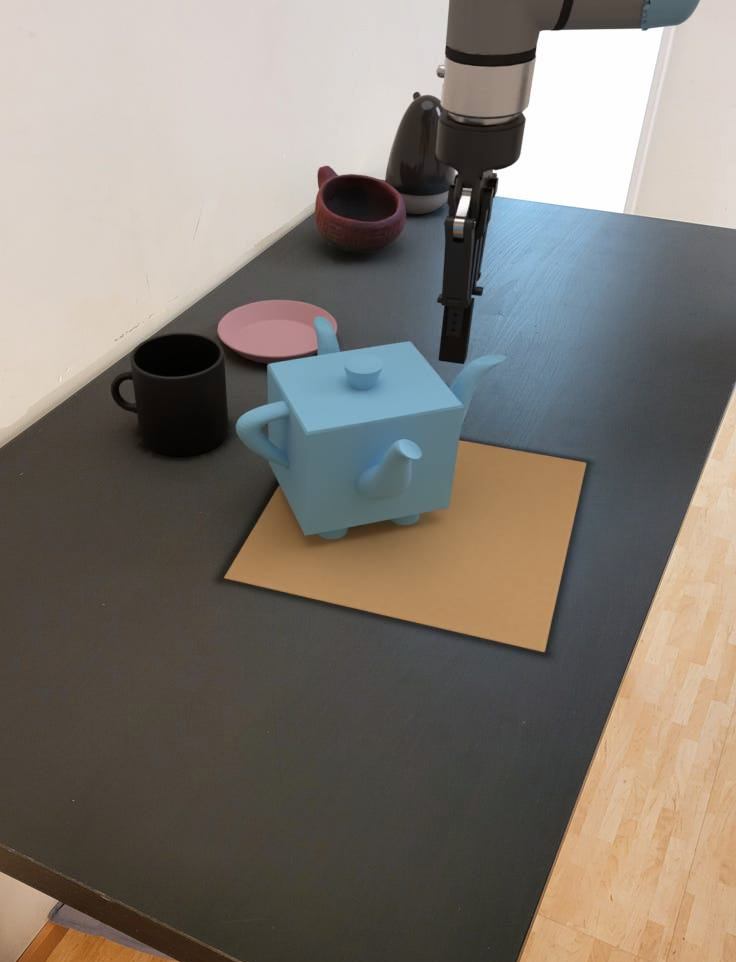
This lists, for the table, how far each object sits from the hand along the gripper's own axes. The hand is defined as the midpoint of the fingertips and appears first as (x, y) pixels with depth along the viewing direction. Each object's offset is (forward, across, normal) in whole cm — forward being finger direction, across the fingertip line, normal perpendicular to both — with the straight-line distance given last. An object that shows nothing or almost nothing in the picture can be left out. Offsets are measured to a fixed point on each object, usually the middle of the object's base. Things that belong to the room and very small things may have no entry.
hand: (452, 358), depth 98 cm
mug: (+5, +14, -26) cm, 31 cm away
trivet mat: (+5, +20, +1) cm, 21 cm away
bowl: (+6, -38, -22) cm, 44 cm away
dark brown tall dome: (+6, -54, -16) cm, 56 cm away
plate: (+5, -8, -22) cm, 24 cm away
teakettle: (+6, +19, -4) cm, 20 cm away
